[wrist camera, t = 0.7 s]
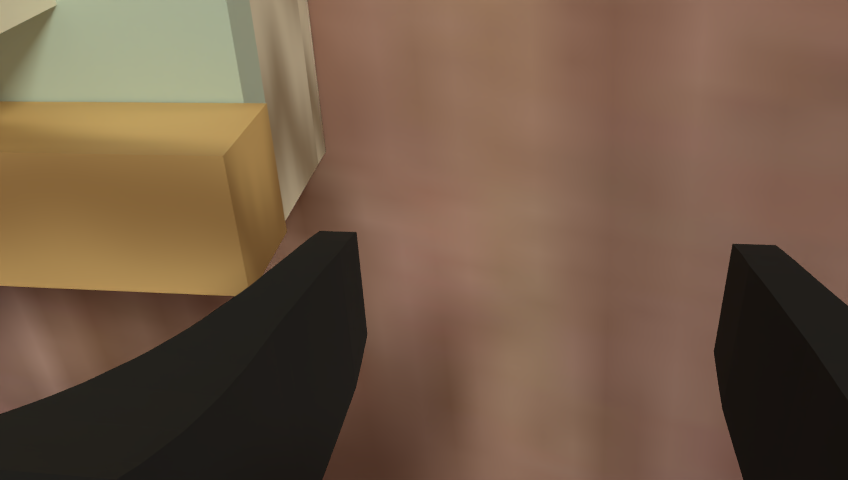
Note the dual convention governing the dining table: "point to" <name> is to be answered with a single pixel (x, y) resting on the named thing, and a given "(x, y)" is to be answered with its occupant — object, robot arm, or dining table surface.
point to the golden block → (138, 196)
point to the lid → (129, 51)
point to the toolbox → (289, 92)
